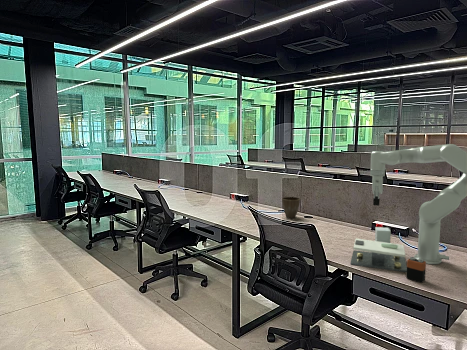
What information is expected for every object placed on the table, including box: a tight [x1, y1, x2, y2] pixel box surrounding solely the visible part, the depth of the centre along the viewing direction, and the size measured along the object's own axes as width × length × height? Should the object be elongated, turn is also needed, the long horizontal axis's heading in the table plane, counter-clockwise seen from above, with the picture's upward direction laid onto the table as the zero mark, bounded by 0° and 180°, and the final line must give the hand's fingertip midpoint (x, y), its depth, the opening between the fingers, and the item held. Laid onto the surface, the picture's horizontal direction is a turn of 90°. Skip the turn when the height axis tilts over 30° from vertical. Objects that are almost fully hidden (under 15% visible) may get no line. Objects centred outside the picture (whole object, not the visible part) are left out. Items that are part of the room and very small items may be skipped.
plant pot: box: [281, 196, 301, 219], centre depth 265 cm, size 15×15×16 cm
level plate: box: [353, 237, 406, 258], centre depth 169 cm, size 24×16×4 cm, turn 65°
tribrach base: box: [350, 249, 407, 273], centre depth 170 cm, size 26×20×6 cm
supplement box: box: [374, 226, 392, 243], centre depth 186 cm, size 7×7×13 cm
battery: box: [405, 256, 427, 283], centre depth 147 cm, size 4×7×10 cm, turn 43°
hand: (376, 205), depth 182 cm, fingers closed
